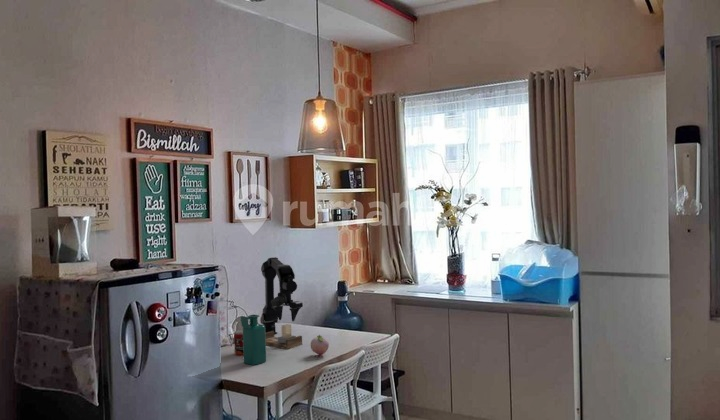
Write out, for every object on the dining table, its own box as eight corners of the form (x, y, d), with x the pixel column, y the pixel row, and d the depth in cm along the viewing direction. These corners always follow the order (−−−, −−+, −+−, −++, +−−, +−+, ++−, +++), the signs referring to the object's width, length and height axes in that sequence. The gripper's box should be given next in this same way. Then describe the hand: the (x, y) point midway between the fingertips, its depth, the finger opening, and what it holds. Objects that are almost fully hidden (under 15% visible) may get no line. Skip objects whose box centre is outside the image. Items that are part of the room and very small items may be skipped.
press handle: (277, 342, 303) (277, 325, 303) (287, 339, 309) (287, 323, 308) (286, 343, 299) (285, 327, 299) (295, 340, 305) (295, 324, 305)
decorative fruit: (308, 354, 285) (307, 333, 285) (324, 352, 288) (324, 331, 288) (314, 359, 276) (313, 337, 276) (330, 356, 279) (330, 335, 279)
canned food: (231, 354, 289) (230, 332, 288) (242, 350, 296) (241, 328, 296) (244, 356, 285) (243, 333, 285) (254, 352, 292) (253, 330, 292)
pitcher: (256, 358, 280) (254, 312, 280) (268, 361, 275) (266, 314, 274) (239, 363, 273) (237, 316, 272) (251, 366, 267) (250, 317, 267)
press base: (258, 343, 310) (258, 334, 310) (272, 339, 318) (272, 331, 318) (288, 349, 296) (288, 340, 296) (302, 344, 304) (301, 335, 304)
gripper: (260, 291, 303) (262, 322, 303) (287, 293, 292) (288, 325, 292) (276, 288, 312) (278, 318, 312) (302, 290, 301) (304, 321, 301)
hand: (286, 320), depth 304 cm, fingers open, 9 cm apart
